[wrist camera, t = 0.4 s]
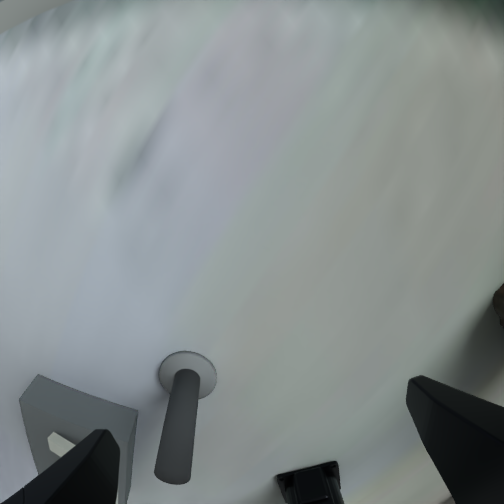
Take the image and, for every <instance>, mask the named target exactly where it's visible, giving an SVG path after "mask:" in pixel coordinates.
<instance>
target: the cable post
mask: <svg viewBox="0 0 504 504" xmlns="http://www.w3.org/2000/svg"><path fill="white" fill-rule="evenodd" d="M159 378H160V382H161V384H162V386H163V387H164V388H165V390H166V391H168V392H169V393H170V398H169V403H168V407H167V412H166V416H165V421H164V426H163V430H162V435H161V440H160V445H159V450H158V454H157V459H156V464H155V470H154V474H155V476H156V477H157V478H158V479H160V480H161V481H163V482H166V483H169V484H175V485H180V484H185V483H187V482H188V481H189V480H190V478H191V467H192V456H193V446H194V436H195V426H196V416H197V407H198V399H201V398H204V397H206V396H208V395H209V394H210V393H211V392H212V391H213V390H214V388H215V385H216V370H215V368H214V366H213V364H212V363H211V362H210V361H209V360H208V359H207V358H205V357H204V356H202V355H200V354H198V353H195V352H190V351H180V352H176V353H173V354H171V355H169V356H168V357H167V358H166V359H165V360H164V361H163V363H162V365H161V368H160V371H159Z"/></svg>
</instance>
